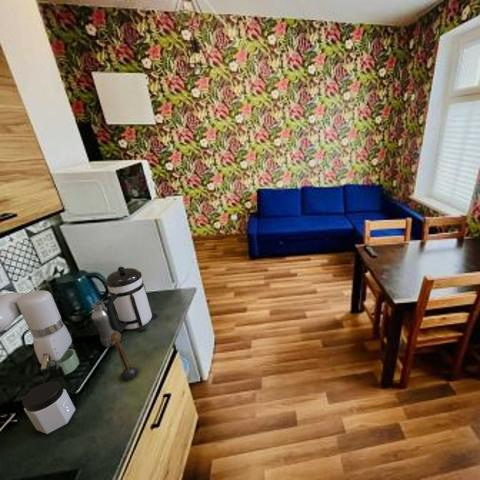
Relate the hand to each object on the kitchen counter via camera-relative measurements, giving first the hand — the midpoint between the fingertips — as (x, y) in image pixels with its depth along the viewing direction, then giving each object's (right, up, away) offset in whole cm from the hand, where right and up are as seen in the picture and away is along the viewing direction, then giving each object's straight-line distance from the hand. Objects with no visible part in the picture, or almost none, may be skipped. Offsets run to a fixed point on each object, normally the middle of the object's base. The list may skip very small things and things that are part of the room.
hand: (65, 366), depth 93 cm
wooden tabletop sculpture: (+20, -6, +4) cm, 21 cm away
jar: (+8, -12, -11) cm, 17 cm away
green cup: (0, -1, 0) cm, 1 cm away
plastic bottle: (+2, +1, +19) cm, 19 cm away
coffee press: (+6, +5, +29) cm, 30 cm away
